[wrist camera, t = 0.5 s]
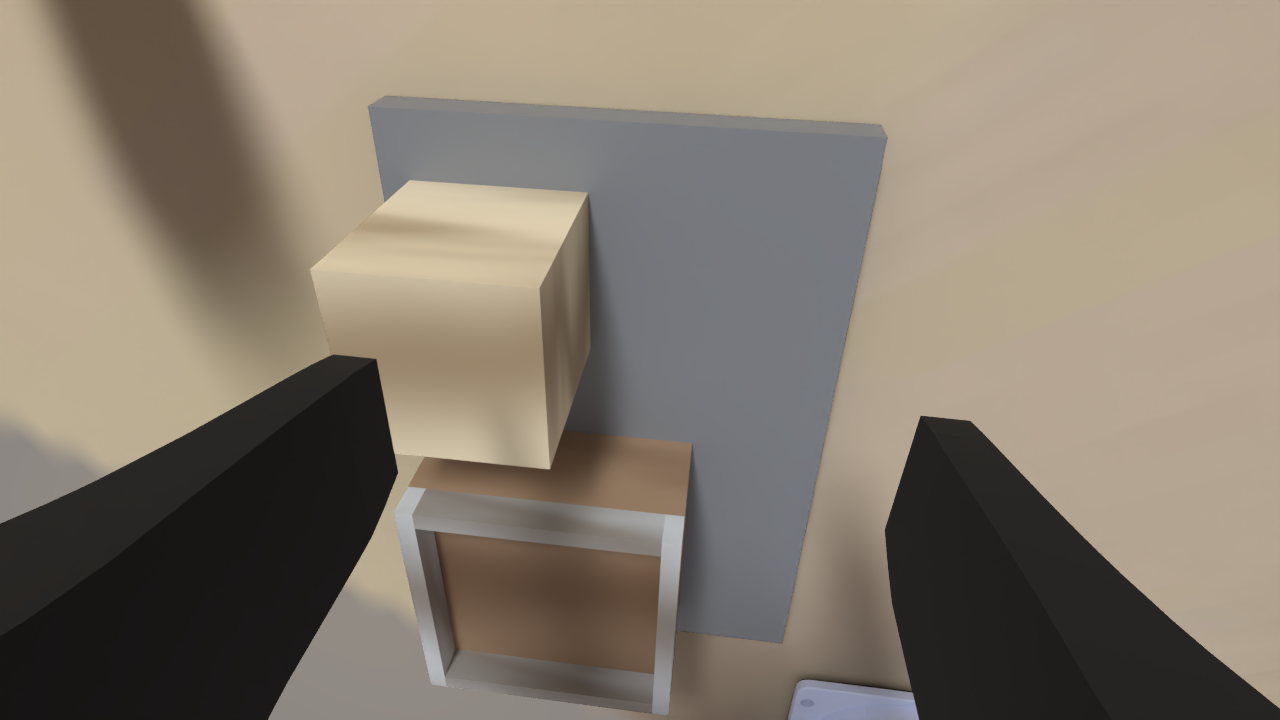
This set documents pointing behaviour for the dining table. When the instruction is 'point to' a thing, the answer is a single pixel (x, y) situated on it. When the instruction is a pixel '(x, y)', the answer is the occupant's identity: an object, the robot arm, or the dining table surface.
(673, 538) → the walnut plinth
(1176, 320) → the dining table surface
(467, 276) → the maple block
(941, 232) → the dining table surface
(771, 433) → the board
